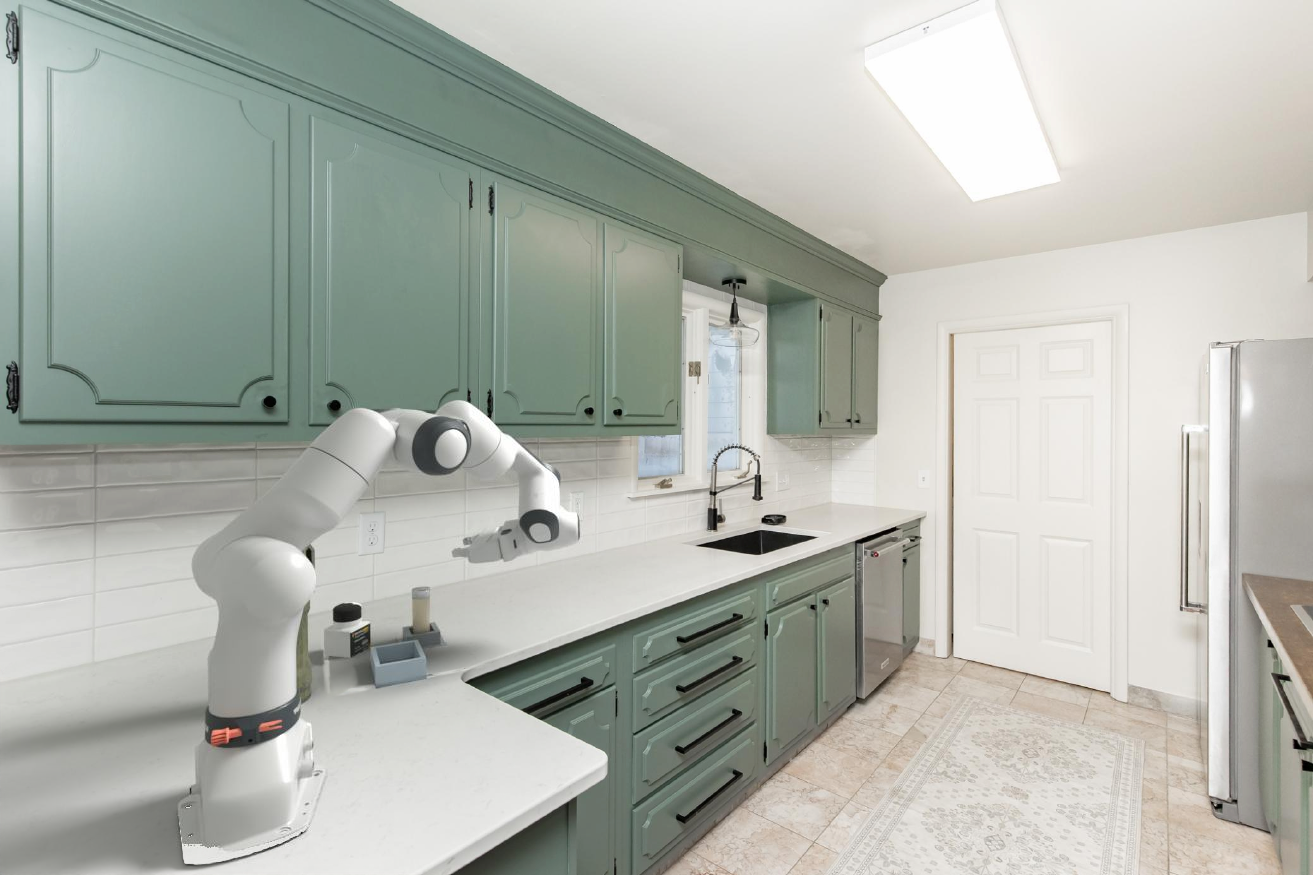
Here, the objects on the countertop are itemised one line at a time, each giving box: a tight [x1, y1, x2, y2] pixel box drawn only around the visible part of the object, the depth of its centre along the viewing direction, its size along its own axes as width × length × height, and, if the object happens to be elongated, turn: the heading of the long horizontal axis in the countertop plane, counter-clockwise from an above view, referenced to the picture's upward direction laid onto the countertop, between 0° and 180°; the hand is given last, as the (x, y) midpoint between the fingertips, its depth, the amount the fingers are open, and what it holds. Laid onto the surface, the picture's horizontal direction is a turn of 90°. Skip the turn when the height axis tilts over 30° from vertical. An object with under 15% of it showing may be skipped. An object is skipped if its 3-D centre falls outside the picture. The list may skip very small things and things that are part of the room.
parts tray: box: [369, 640, 427, 689], centre depth 135 cm, size 12×10×4 cm
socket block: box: [396, 621, 447, 650], centre depth 151 cm, size 10×10×4 cm
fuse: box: [411, 586, 431, 634], centre depth 150 cm, size 4×4×13 cm
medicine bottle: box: [323, 601, 372, 661], centre depth 144 cm, size 7×7×12 cm
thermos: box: [296, 543, 316, 705], centre depth 121 cm, size 9×12×35 cm
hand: (458, 547), depth 150 cm, fingers open, 8 cm apart
